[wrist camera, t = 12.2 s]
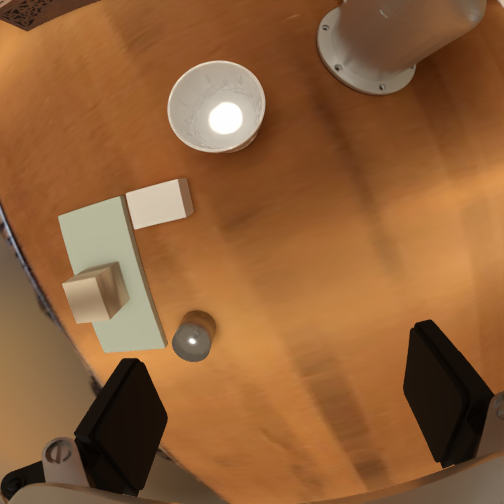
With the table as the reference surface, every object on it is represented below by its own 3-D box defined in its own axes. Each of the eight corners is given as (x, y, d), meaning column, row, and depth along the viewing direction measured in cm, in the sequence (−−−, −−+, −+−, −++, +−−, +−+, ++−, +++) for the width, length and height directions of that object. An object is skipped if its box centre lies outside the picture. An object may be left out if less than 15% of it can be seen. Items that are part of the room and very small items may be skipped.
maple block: (87, 267, 35) (62, 283, 30) (118, 261, 35) (95, 277, 29) (99, 303, 37) (76, 323, 31) (130, 299, 36) (109, 320, 30)
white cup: (269, 152, 32) (272, 143, 23) (199, 163, 33) (173, 160, 23) (259, 85, 31) (257, 53, 21) (189, 97, 31) (162, 72, 21)
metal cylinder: (178, 312, 38) (167, 331, 33) (211, 308, 37) (203, 327, 33) (187, 342, 39) (178, 363, 34) (219, 338, 38) (214, 359, 34)
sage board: (63, 214, 35) (58, 216, 34) (124, 195, 34) (119, 196, 33) (107, 348, 40) (104, 352, 39) (167, 343, 39) (165, 348, 38)
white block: (139, 190, 34) (125, 193, 30) (186, 178, 34) (177, 179, 30) (147, 223, 35) (134, 229, 31) (194, 212, 35) (186, 217, 31)
